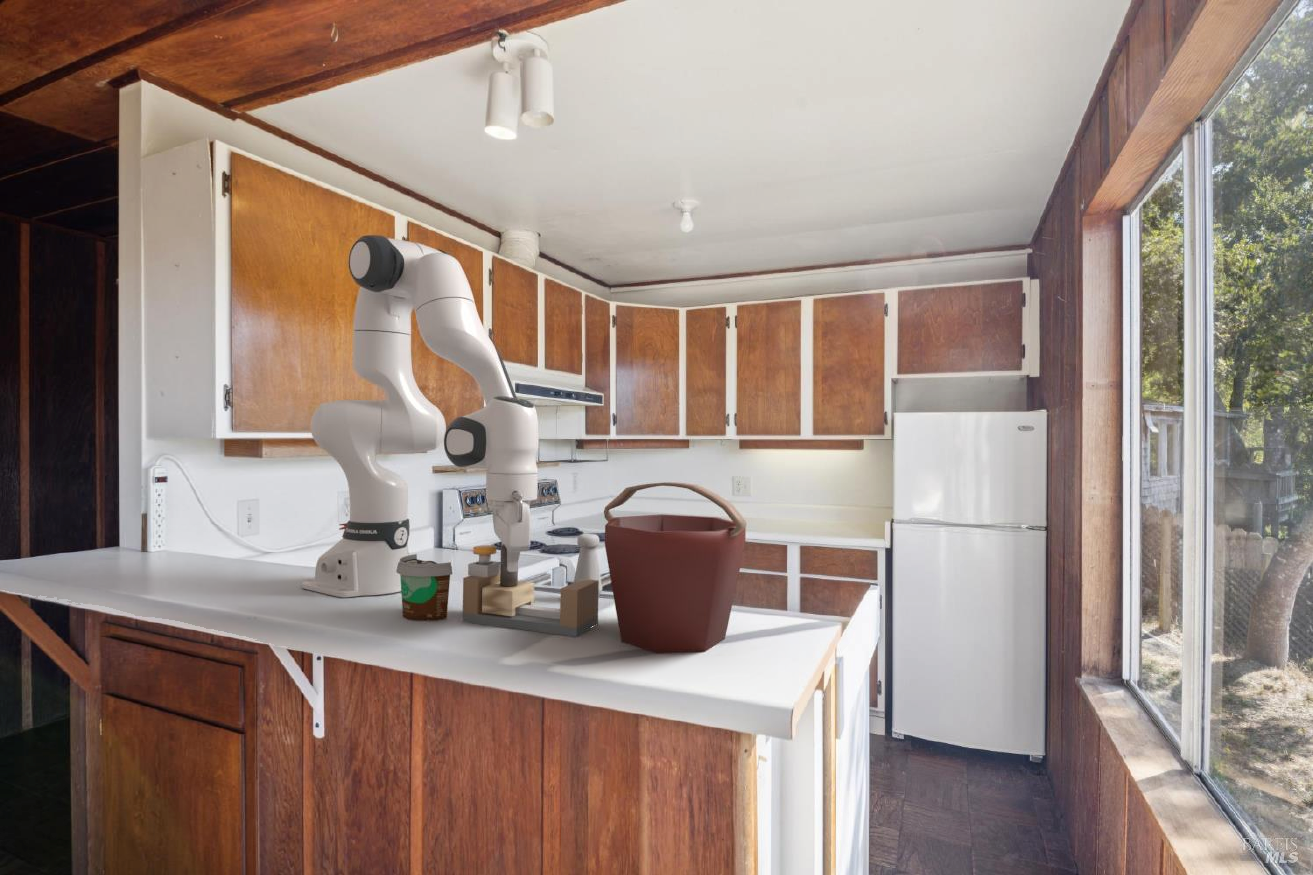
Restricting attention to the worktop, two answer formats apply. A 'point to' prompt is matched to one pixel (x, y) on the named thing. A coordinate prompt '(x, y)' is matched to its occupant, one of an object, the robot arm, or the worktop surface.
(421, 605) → the food container
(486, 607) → the carriage
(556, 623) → the rail board
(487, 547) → the knob
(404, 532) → the robot arm
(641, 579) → the bucket
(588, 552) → the salt shaker
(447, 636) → the worktop surface
